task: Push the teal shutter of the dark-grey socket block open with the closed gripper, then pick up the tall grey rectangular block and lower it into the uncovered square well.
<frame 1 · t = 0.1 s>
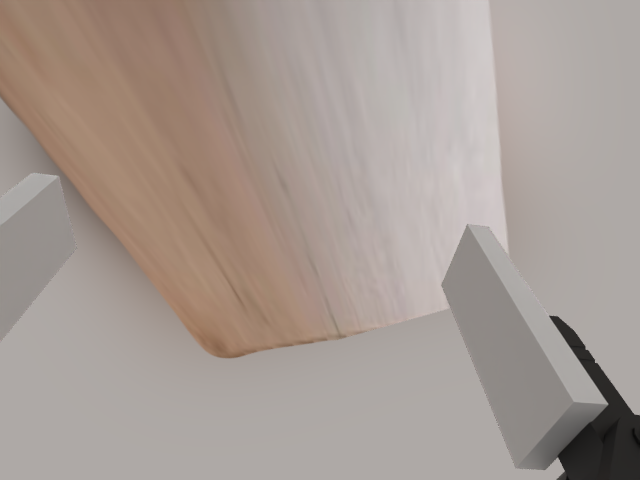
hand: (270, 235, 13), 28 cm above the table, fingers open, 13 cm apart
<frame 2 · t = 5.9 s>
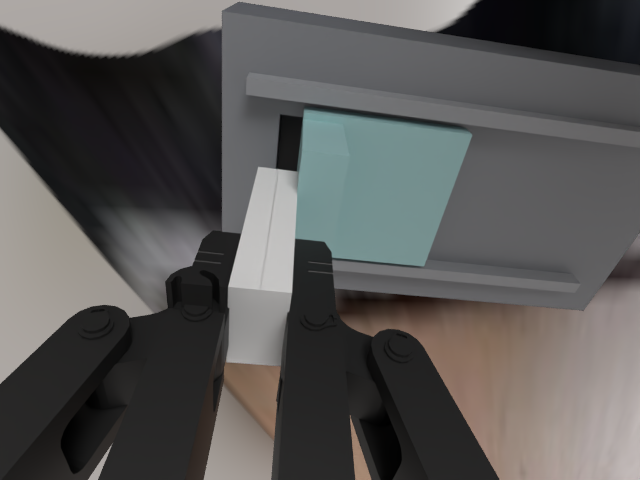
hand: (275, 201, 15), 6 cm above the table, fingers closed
socket housing: (425, 161, 21), on the table
shutter: (375, 212, 16), point 6 cm above the table, slide at 1.4 cm, touching gripper
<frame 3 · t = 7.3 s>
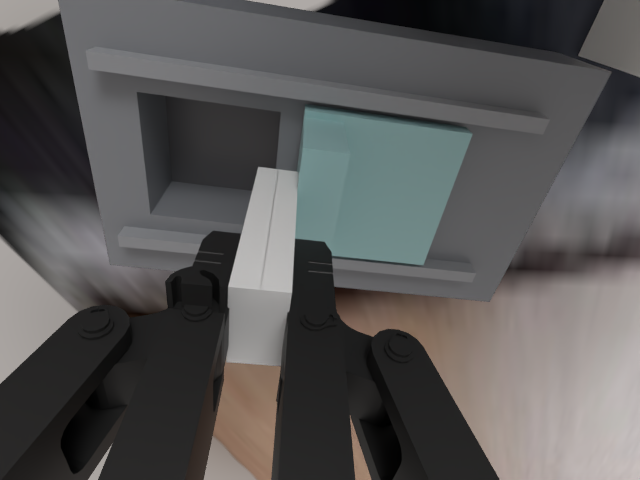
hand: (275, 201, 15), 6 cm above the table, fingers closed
socket housing: (324, 146, 21), on the table
shutter: (375, 211, 16), point 6 cm above the table, slide at 6.9 cm, touching gripper
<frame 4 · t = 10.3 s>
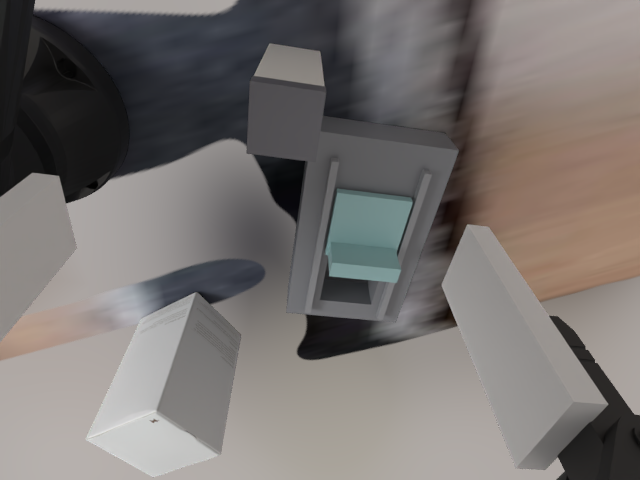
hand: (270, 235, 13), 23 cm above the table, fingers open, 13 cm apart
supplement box: (192, 325, 49), on the table
socket housing: (356, 219, 40), on the table
shutter: (368, 236, 34), point 6 cm above the table, slide at 7.1 cm
grey rectangular block: (292, 74, 32), on the table
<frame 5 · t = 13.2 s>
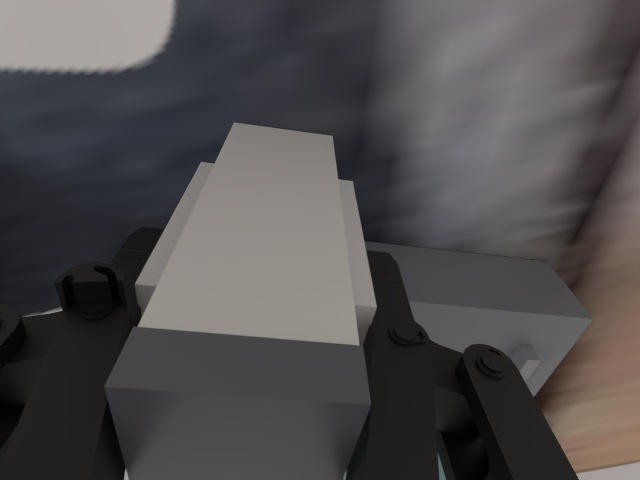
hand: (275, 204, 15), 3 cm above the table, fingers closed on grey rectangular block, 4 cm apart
socket housing: (386, 374, 25), on the table
shutter: (417, 454, 19), point 6 cm above the table, slide at 7.1 cm
grey rectangular block: (279, 173, 17), on the table, touching gripper
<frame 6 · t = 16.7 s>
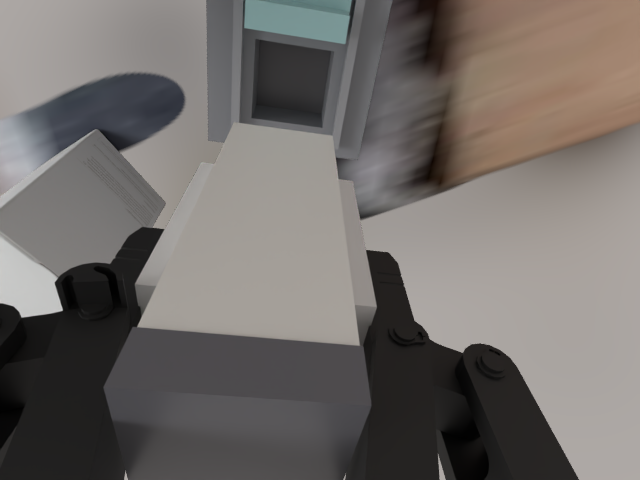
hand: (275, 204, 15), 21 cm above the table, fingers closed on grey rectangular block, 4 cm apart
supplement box: (101, 188, 38), on the table
socket housing: (300, 2, 29), on the table
grey rectangular block: (279, 173, 17), point 18 cm above the table, touching gripper
when the fingers open (5 cm above the table, at t = 20.4 s): grey rectangular block drops 2 cm, resting on socket housing.
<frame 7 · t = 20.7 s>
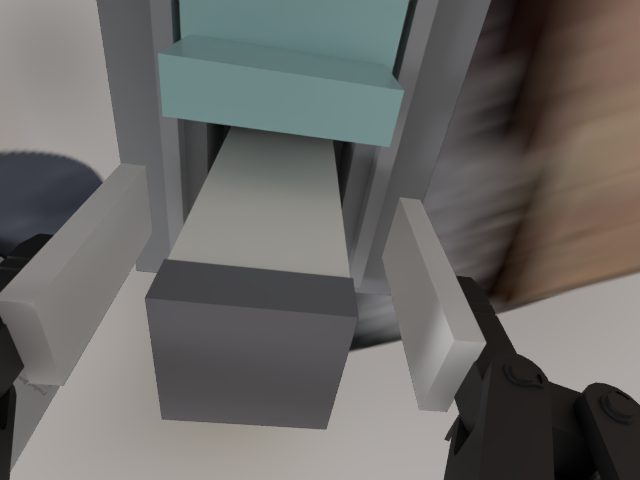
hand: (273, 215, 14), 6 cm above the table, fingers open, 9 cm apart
socket housing: (294, 38, 16), on the table
grey rectangular block: (281, 156, 19), point 1 cm above the table, touching socket housing
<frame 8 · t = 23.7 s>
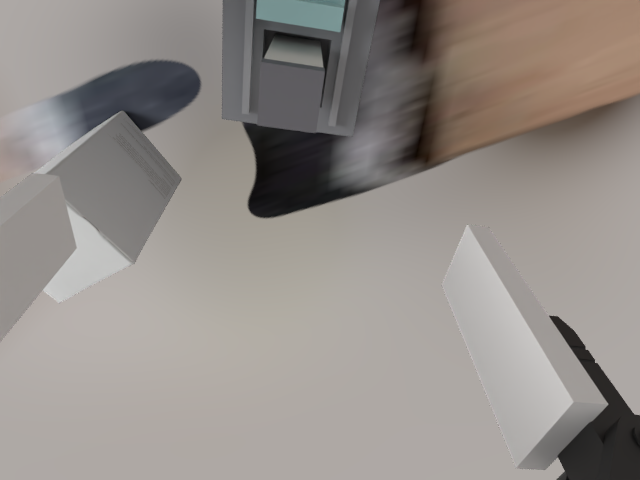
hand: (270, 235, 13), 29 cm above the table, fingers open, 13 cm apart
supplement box: (124, 165, 43), on the table
grey rectangular block: (295, 61, 36), point 1 cm above the table, touching socket housing
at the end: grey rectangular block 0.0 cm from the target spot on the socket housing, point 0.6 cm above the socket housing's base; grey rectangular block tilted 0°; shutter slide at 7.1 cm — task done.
